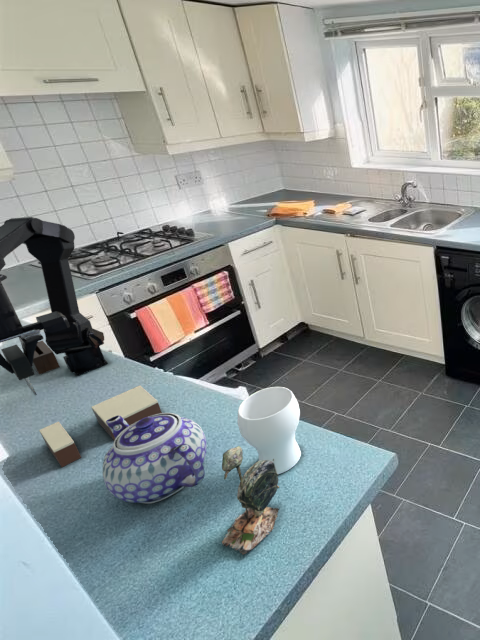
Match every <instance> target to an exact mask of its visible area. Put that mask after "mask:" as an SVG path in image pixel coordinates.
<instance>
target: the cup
mask: <svg viewBox="0 0 480 640" xmlns="http://www.w3.org/2000/svg"><path fill="white" fill-rule="evenodd" d="M300 418H301V410H300V404H299V401H298V399H297V398H296V396H295V394H294V392H293V391H292V390H291V389H289V388H287V387H283V386H271V387H265V388H262V389H260V390H257V391H256V392H254V393H252V394H250V395H249V396H247V397H246V398H245V399H243V401H242V402H241V403H240V405H239V406H238V409H237V421H236V422H237V426H238V429H239V434H240V436H241V437H242V438H243V439H244V440H245V442H246V443H247V444H248V445H249V446H250V447H253V448H254V449H255V450H256V453H257V454H258V461H261V460H270V461H272V462H273V463H274V464H275V468H276V472H277V474H278V475H280V474H283V473H285V472H287V471H289V470H291V469H292V468H293V467H294V466H295V465H297V464H298V462H299V460H300V458H301V456H302V451H301V449H300V446H299V444H298V442H297V441H296V432H297V429H298V427H299V422H300ZM273 459H274V461H273Z"/></svg>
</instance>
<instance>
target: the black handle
mask: <svg viewBox="0 0 480 640" xmlns="http://www.w3.org/2000/svg"><path fill="white" fill-rule="evenodd" d="M0 351H1V352H2V353H1V354H2V356H3V357H4V358H5V359H6V361H7V362H8V363H9V364H10V366H11V367H12V369H13V371H14V373H13V375H15V376H16V378H17V379H18V381H22V380H24V382H25V384H26V386H27V387H28V388H29V389H30V390H31V392H32V393H33V395H34V396H38V394H37V391H36V390H35V388H34V386H33V384H32V381H31V379H30V377H33V376H35V375H36V373H35V371H34V368H33V366H32V367H31V365H30V363H29V361H28V359H27V357H26V355H25V354H24V352H23V349H22V348H20V346H19V345H18V344H13V345H11V346H8V347H4V348H1V349H0Z"/></svg>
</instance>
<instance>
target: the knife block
mask: <svg viewBox="0 0 480 640" xmlns="http://www.w3.org/2000/svg"><path fill="white" fill-rule="evenodd" d="M60 367H61V366H60V364H59V361H58V359H57V357H56V354H55V353H54V352H53V351H52V349H51V348H50V347H49V346H48V345H47V343H46V342H44V340H40V341H38V343H37V346H36V349H35V352H34V358H33V365H32V368H33V370H35V371H36V372H37V374H38V375H42V374H46V373H49V372H51V371H53V370H56V369H59V368H60Z"/></svg>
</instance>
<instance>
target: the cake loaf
mask: <svg viewBox="0 0 480 640" xmlns="http://www.w3.org/2000/svg"><path fill="white" fill-rule="evenodd" d="M91 410H92V412H93V414H94V417H95V419H96V421H97V423H98V424H99V425H100V426H101V428H102V429H103V430H104V431H105V432H106V434H107V435H108V436H109V437H110V438H111V439H112V440H113V442H114V441H115V437H114V435H113V433H112V431H111V429H110V428H109V426H108V425H107V423H106V421H107V420H108V419H110V418H112V417H115V416H121V417H122V418H123V419H124V420H125V421H126V422H127V423H128V425H129V426H130V425H132V424H134V423H135V422H137V421H139V420H141V419H143V418H145V417H149V416H152V415H156V414H160V413H163V411H162V409H161V407H160V404H159V401H158V399H156V398H155V397H154V396H153V395H152V394H151V393H149V391H147V390H146V389H145V388H144V387H143V386H142V385H138V386H137V385H136V386H135V387H133V388H130V389H129V390H126V391H124V392H122V393H119V394H117V395H114V396H112V397H110V398H108V399H106V400H103V401H101V402H99V403H97V404H95V405H92V406H91Z"/></svg>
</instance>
